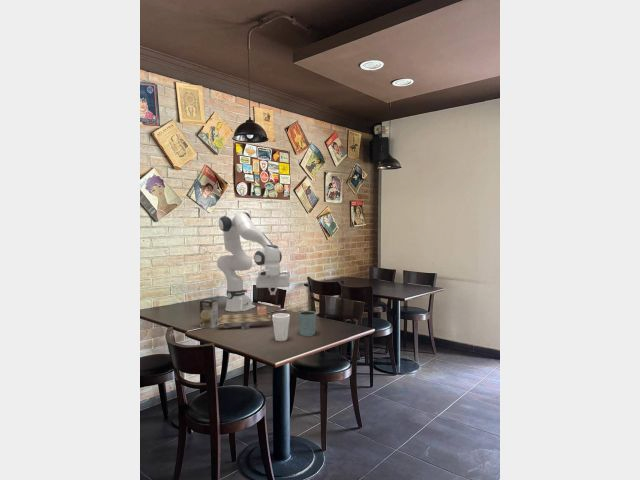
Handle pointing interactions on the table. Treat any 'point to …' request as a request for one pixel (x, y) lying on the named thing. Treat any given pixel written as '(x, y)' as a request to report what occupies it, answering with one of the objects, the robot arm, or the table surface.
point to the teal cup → (307, 323)
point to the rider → (261, 310)
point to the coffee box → (208, 313)
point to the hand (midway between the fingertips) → (272, 294)
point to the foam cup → (281, 326)
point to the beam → (242, 319)
